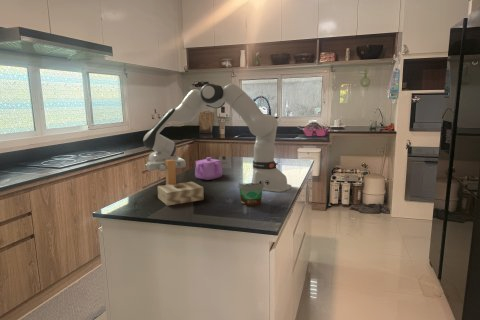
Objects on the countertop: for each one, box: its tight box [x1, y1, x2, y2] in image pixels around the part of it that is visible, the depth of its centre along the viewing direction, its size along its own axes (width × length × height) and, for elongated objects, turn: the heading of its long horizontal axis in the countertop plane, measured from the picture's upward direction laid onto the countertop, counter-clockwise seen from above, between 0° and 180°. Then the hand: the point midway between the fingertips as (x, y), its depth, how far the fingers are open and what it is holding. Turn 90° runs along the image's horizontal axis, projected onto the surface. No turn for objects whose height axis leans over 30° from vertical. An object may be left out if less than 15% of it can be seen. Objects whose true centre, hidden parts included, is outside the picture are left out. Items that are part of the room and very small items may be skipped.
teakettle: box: [194, 156, 223, 181], centre depth 208 cm, size 17×17×12 cm
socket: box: [157, 181, 205, 206], centre depth 162 cm, size 18×14×6 cm
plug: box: [165, 159, 177, 185], centre depth 172 cm, size 4×4×14 cm
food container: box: [237, 181, 264, 207], centre depth 152 cm, size 12×6×10 cm, turn 105°
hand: (171, 167), depth 171 cm, fingers closed on plug, 4 cm apart
